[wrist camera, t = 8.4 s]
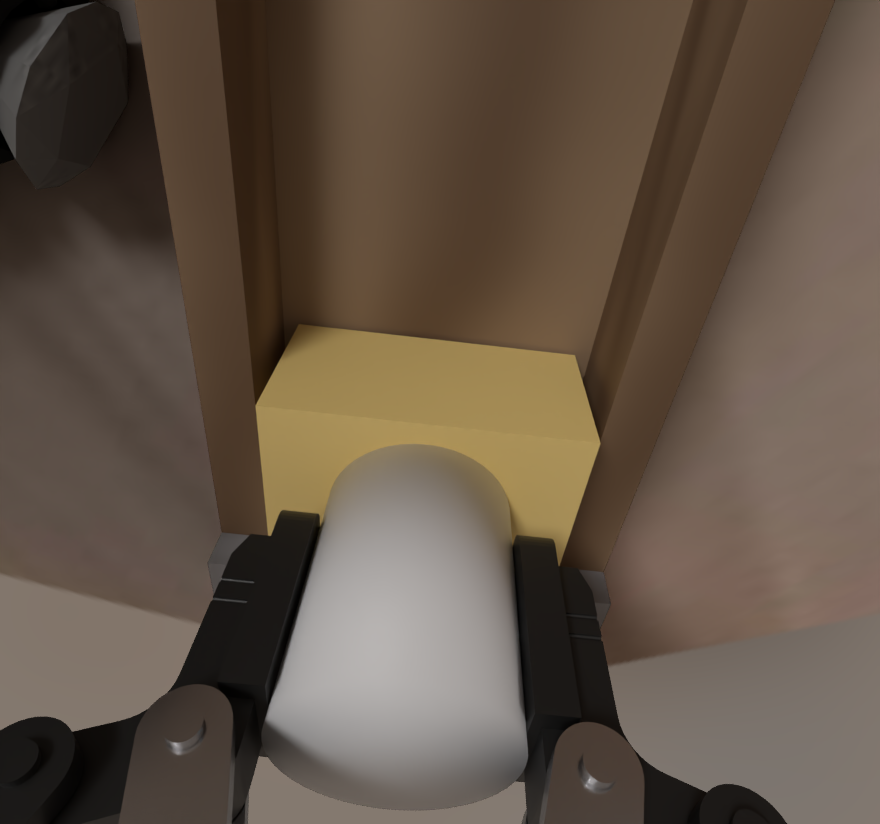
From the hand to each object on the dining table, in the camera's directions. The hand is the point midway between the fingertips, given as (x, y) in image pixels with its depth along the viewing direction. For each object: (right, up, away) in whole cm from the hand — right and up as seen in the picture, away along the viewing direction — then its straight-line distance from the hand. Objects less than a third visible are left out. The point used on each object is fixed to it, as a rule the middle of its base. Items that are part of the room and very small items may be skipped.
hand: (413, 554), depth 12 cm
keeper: (0, +3, +4) cm, 5 cm away
